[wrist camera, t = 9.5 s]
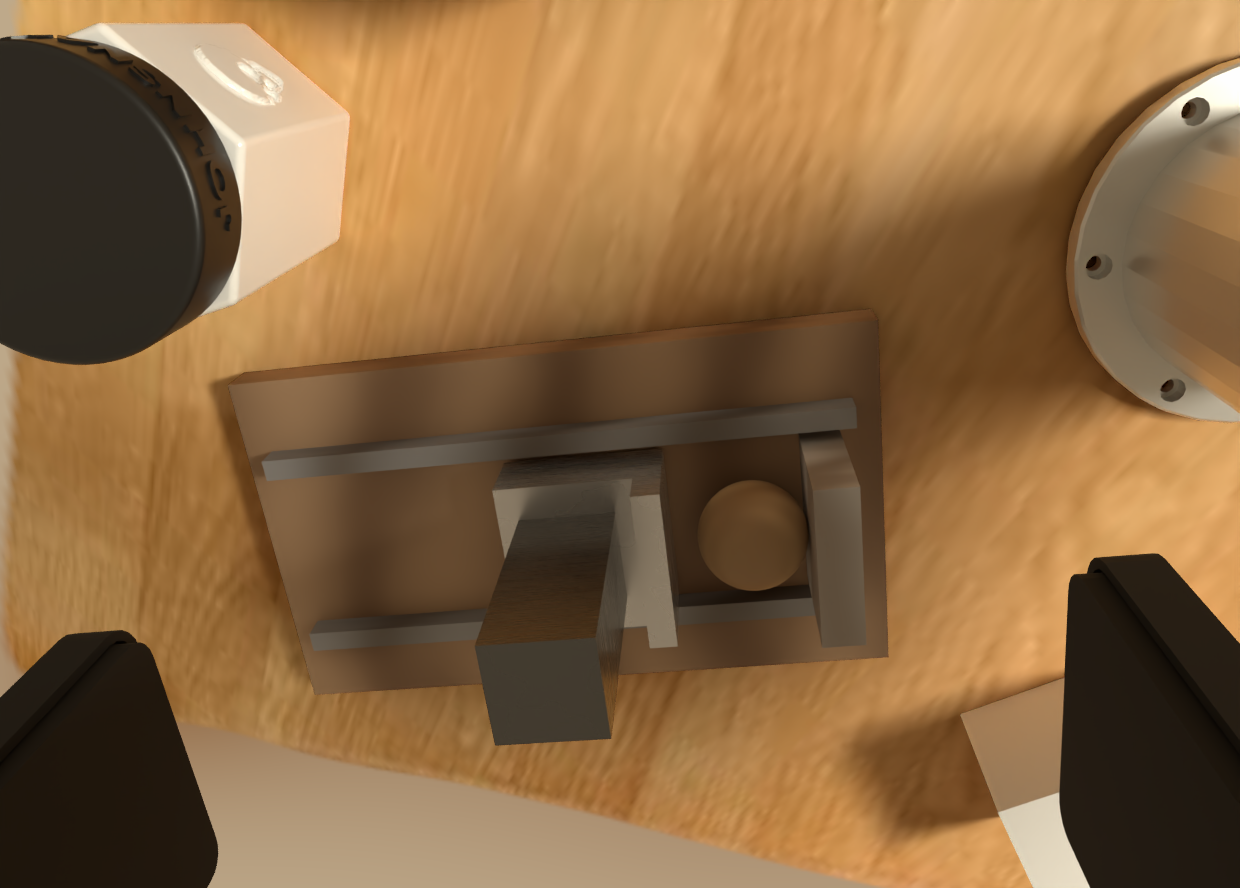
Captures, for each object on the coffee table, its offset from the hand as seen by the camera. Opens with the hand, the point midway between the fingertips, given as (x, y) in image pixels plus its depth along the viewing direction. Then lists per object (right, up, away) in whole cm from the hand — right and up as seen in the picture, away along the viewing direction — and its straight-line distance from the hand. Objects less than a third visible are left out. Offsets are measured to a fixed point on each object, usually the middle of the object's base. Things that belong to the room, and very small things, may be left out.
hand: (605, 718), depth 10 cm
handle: (-1, 0, +29) cm, 29 cm away
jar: (-14, +13, +26) cm, 32 cm away
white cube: (+19, -10, +34) cm, 40 cm away
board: (-2, 0, +31) cm, 31 cm away
